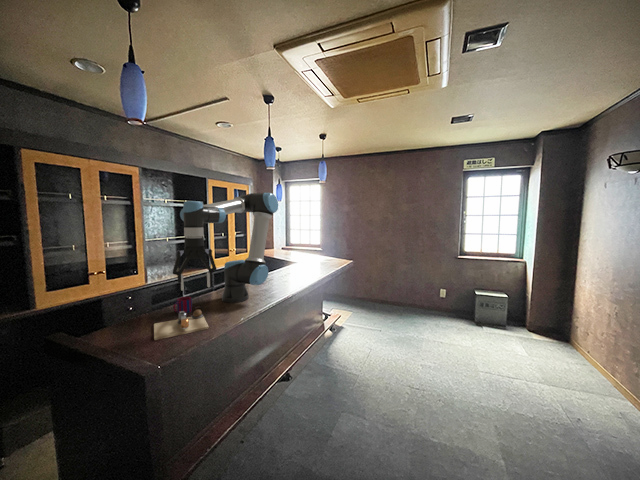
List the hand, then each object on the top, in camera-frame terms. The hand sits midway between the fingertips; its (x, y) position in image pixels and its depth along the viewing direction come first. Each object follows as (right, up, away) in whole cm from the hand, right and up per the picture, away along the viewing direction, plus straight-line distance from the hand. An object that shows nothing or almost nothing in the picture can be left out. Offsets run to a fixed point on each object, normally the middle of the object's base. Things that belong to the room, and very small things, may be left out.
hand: (195, 288), depth 111 cm
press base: (-7, -18, +1) cm, 19 cm away
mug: (-16, -16, +18) cm, 29 cm away
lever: (-6, -16, +2) cm, 17 cm away
